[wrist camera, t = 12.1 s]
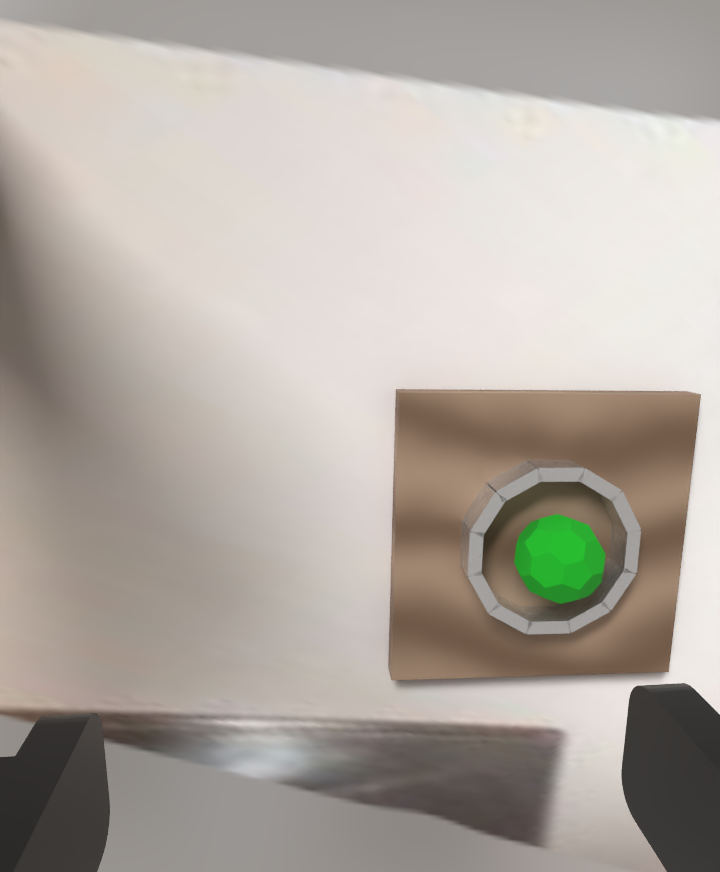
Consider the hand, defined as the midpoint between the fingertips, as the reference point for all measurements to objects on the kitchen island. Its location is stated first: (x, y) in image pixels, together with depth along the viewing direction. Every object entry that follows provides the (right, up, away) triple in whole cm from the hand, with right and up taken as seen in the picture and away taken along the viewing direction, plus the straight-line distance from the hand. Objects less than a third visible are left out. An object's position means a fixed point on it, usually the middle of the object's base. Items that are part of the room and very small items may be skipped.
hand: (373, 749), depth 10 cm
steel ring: (+11, -2, +29) cm, 31 cm away
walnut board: (+11, -1, +31) cm, 32 cm away
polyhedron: (+11, -2, +29) cm, 31 cm away
